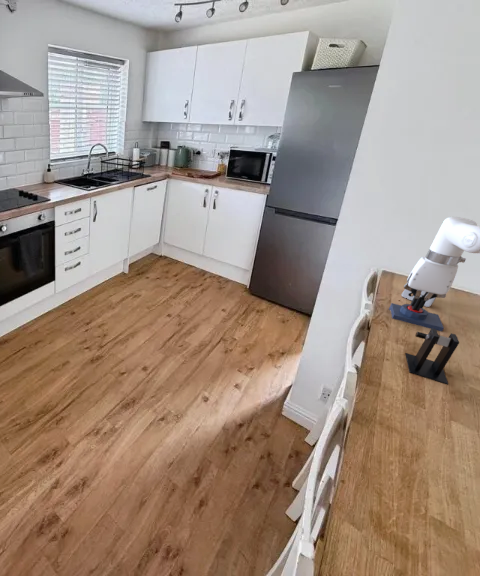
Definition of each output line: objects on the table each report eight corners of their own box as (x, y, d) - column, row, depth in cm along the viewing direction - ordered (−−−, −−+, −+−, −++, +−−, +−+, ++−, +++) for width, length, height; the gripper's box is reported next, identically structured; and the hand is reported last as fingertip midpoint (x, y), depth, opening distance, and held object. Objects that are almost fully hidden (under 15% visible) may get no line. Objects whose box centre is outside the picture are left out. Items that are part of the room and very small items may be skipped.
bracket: (403, 356, 105) (422, 321, 100) (439, 366, 101) (460, 331, 96) (407, 375, 97) (428, 338, 92) (446, 387, 94) (470, 350, 88)
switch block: (435, 320, 124) (441, 310, 122) (440, 333, 117) (446, 323, 115) (388, 308, 130) (393, 298, 128) (391, 320, 123) (396, 310, 121)
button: (419, 312, 123) (422, 308, 123) (421, 317, 120) (423, 313, 119) (405, 308, 125) (407, 304, 124) (406, 313, 122) (408, 309, 121)
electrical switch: (399, 296, 139) (412, 274, 135) (406, 295, 141) (418, 273, 137) (428, 308, 132) (442, 285, 128) (434, 306, 134) (448, 283, 130)
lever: (414, 337, 107) (417, 329, 106) (436, 343, 104) (439, 335, 104) (429, 342, 95) (433, 333, 95) (454, 349, 93) (458, 340, 92)
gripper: (470, 260, 113) (441, 310, 122) (410, 248, 120) (387, 297, 128) (476, 268, 107) (445, 320, 116) (413, 255, 114) (388, 306, 123)
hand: (415, 308), depth 122 cm, fingers closed
